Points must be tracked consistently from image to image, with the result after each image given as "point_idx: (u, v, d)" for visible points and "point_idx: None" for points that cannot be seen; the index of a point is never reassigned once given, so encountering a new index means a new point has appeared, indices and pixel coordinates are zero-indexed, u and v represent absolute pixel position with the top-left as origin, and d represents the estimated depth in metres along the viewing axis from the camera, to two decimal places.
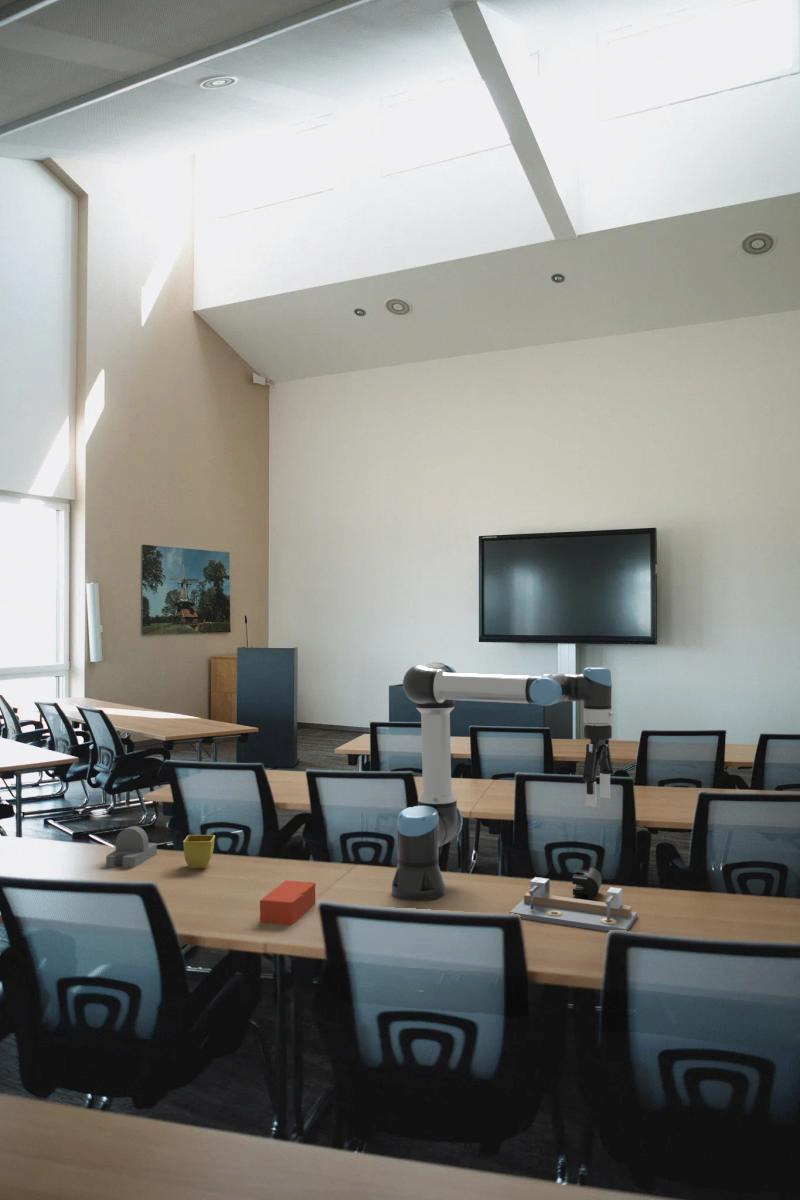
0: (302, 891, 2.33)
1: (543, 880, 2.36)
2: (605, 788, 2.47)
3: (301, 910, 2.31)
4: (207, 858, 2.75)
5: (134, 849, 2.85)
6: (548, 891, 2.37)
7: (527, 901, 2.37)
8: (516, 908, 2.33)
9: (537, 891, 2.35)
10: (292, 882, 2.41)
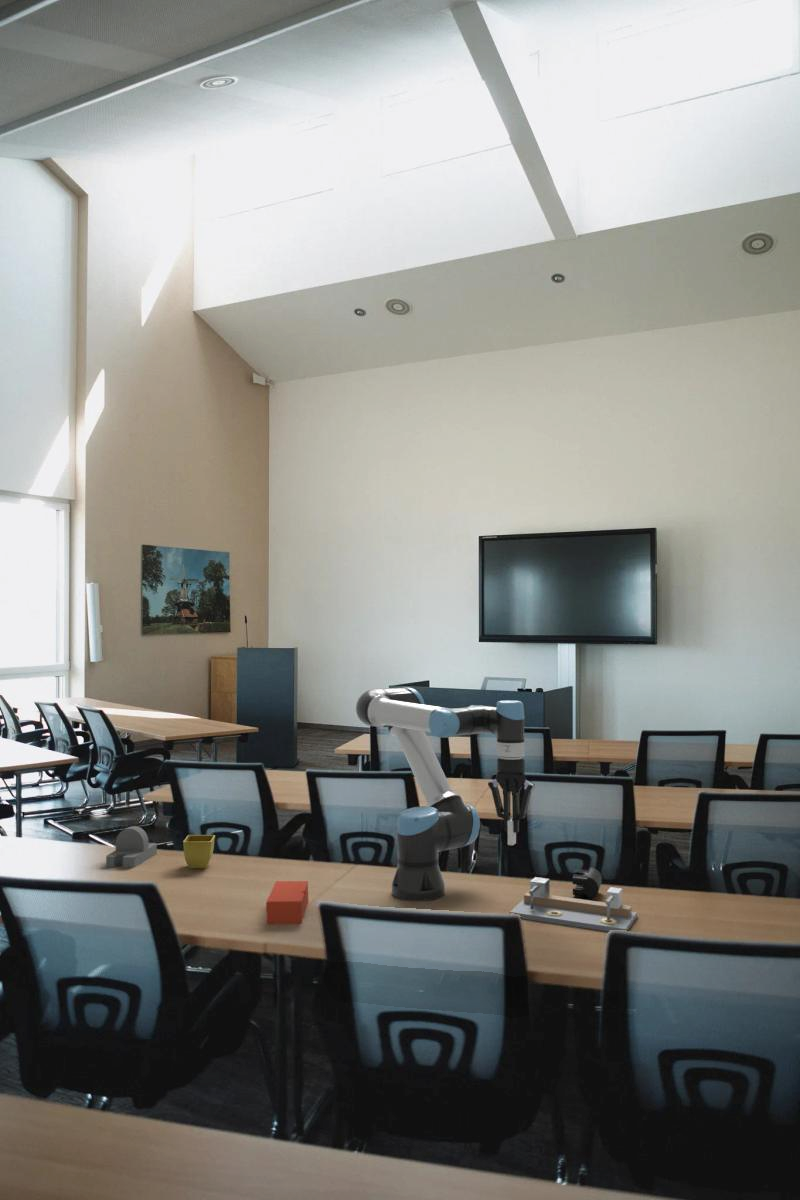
0: (302, 890, 2.34)
1: (543, 880, 2.36)
2: None
3: (304, 908, 2.32)
4: (207, 858, 2.75)
5: (134, 849, 2.85)
6: (548, 891, 2.37)
7: (527, 901, 2.37)
8: (516, 908, 2.33)
9: (537, 891, 2.35)
10: (285, 882, 2.41)
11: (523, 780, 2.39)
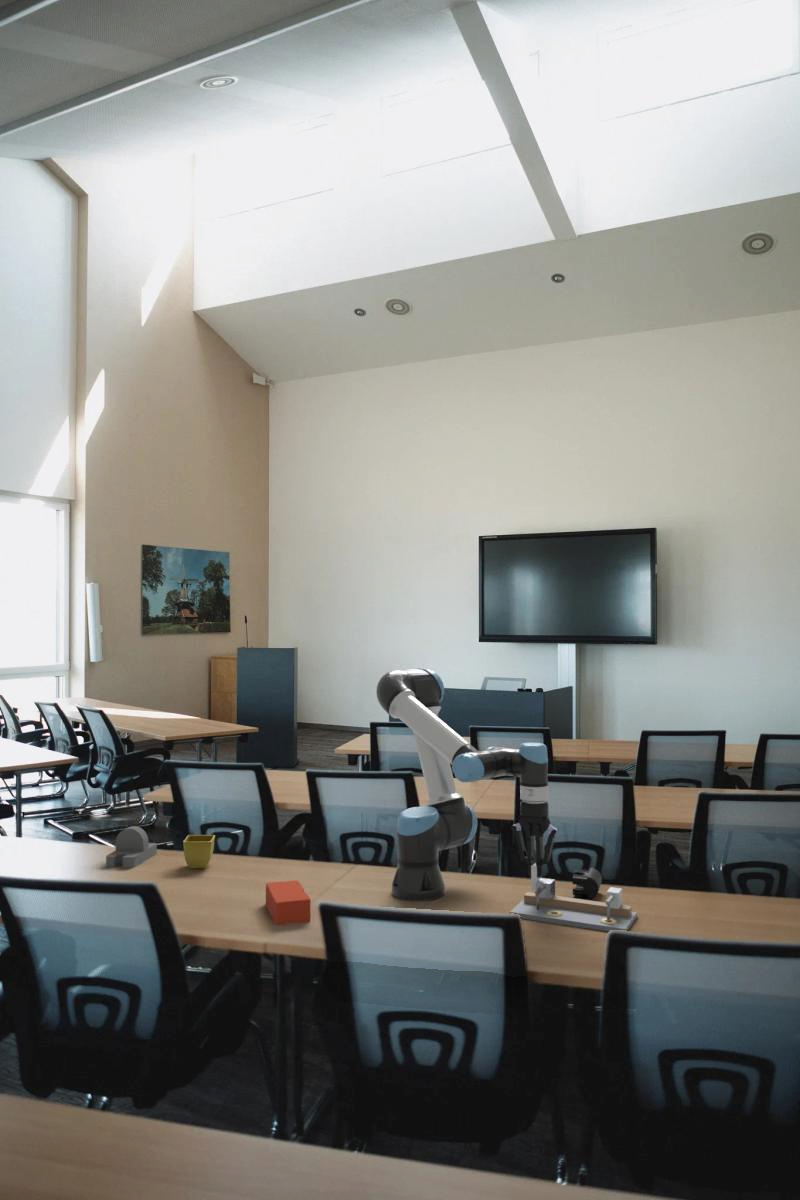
0: (301, 889, 2.35)
1: (549, 881, 2.36)
2: None
3: None
4: (207, 858, 2.75)
5: (134, 849, 2.85)
6: (554, 892, 2.37)
7: (527, 901, 2.37)
8: (516, 908, 2.33)
9: (543, 892, 2.34)
10: (277, 883, 2.40)
11: (547, 824, 2.35)
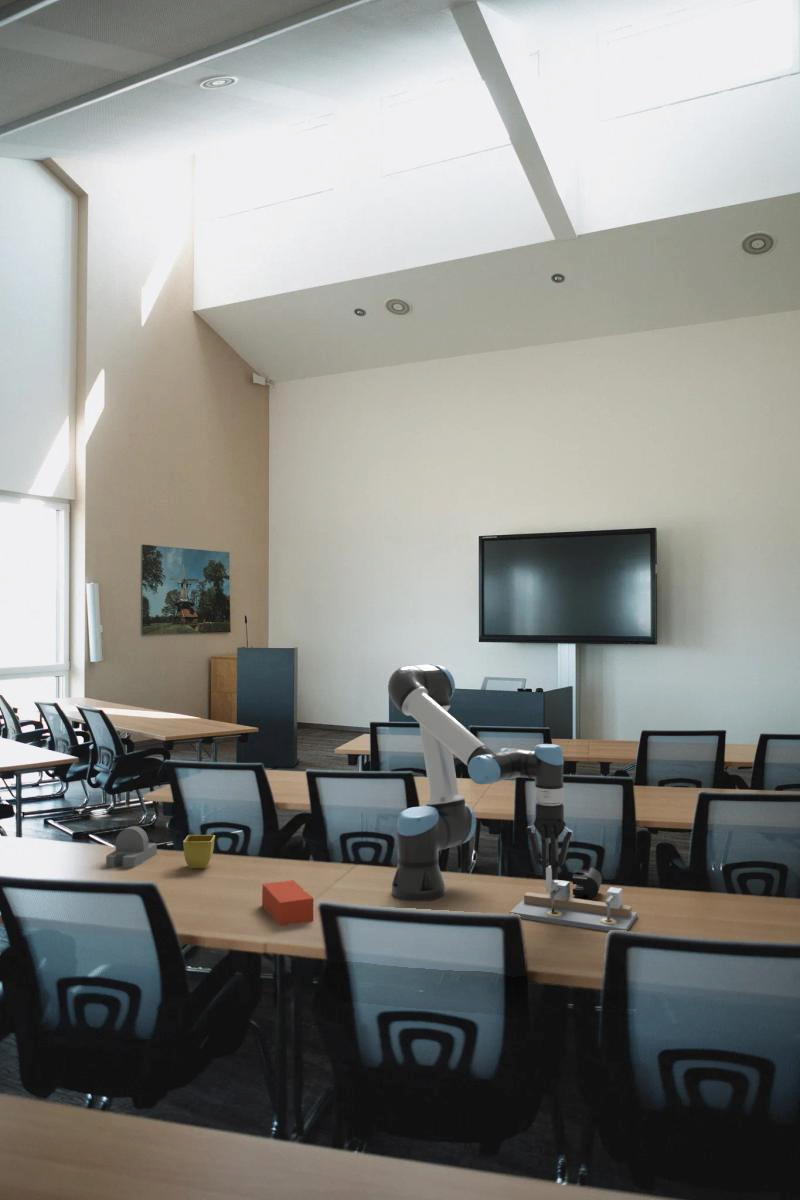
0: (300, 888, 2.36)
1: (564, 883, 2.34)
2: None
3: None
4: (207, 858, 2.75)
5: (134, 849, 2.85)
6: (568, 894, 2.35)
7: (527, 901, 2.37)
8: (516, 908, 2.33)
9: (558, 894, 2.33)
10: (274, 884, 2.40)
11: (562, 827, 2.34)
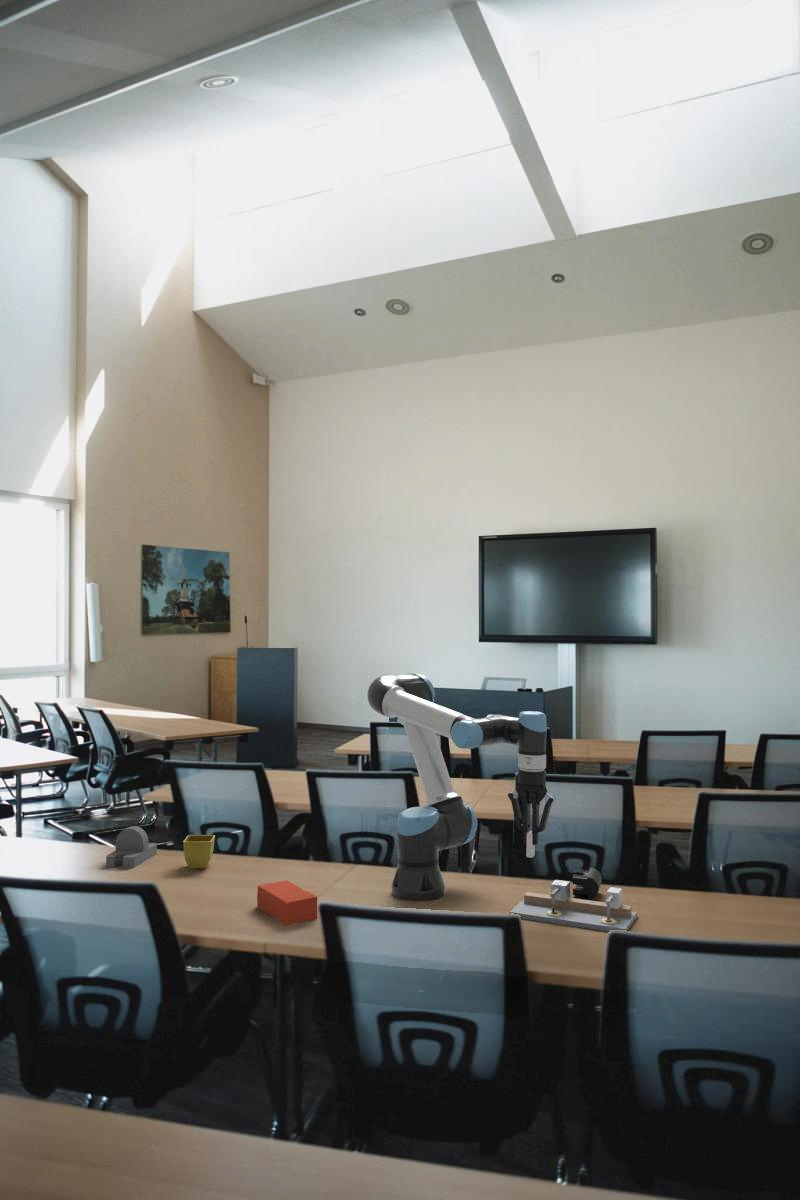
0: (299, 888, 2.36)
1: (564, 883, 2.34)
2: None
3: None
4: (207, 858, 2.75)
5: (134, 849, 2.85)
6: (569, 894, 2.35)
7: (527, 901, 2.37)
8: (516, 908, 2.33)
9: (558, 894, 2.33)
10: (269, 885, 2.39)
11: (544, 793, 2.36)
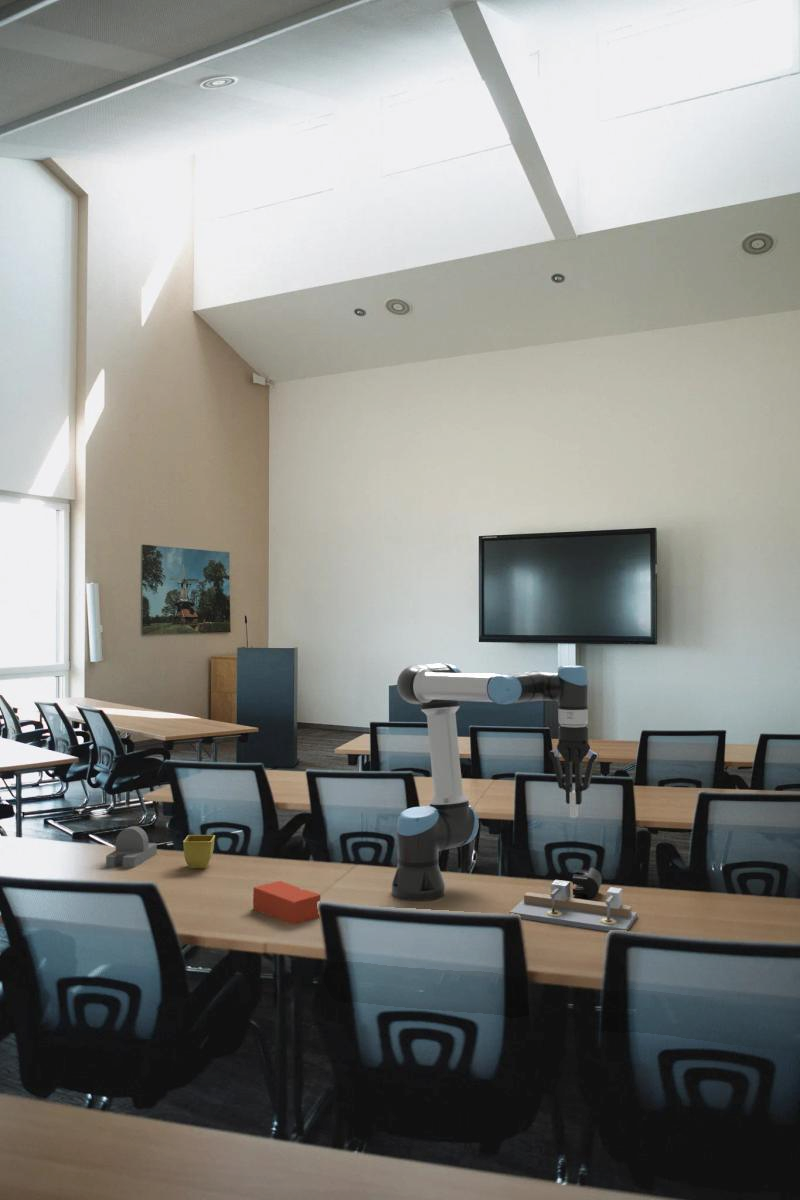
0: (297, 887, 2.37)
1: (564, 883, 2.34)
2: None
3: None
4: (207, 858, 2.75)
5: (134, 849, 2.85)
6: (569, 894, 2.35)
7: (527, 901, 2.37)
8: (516, 908, 2.33)
9: (558, 894, 2.33)
10: (265, 886, 2.38)
11: (587, 749, 2.26)
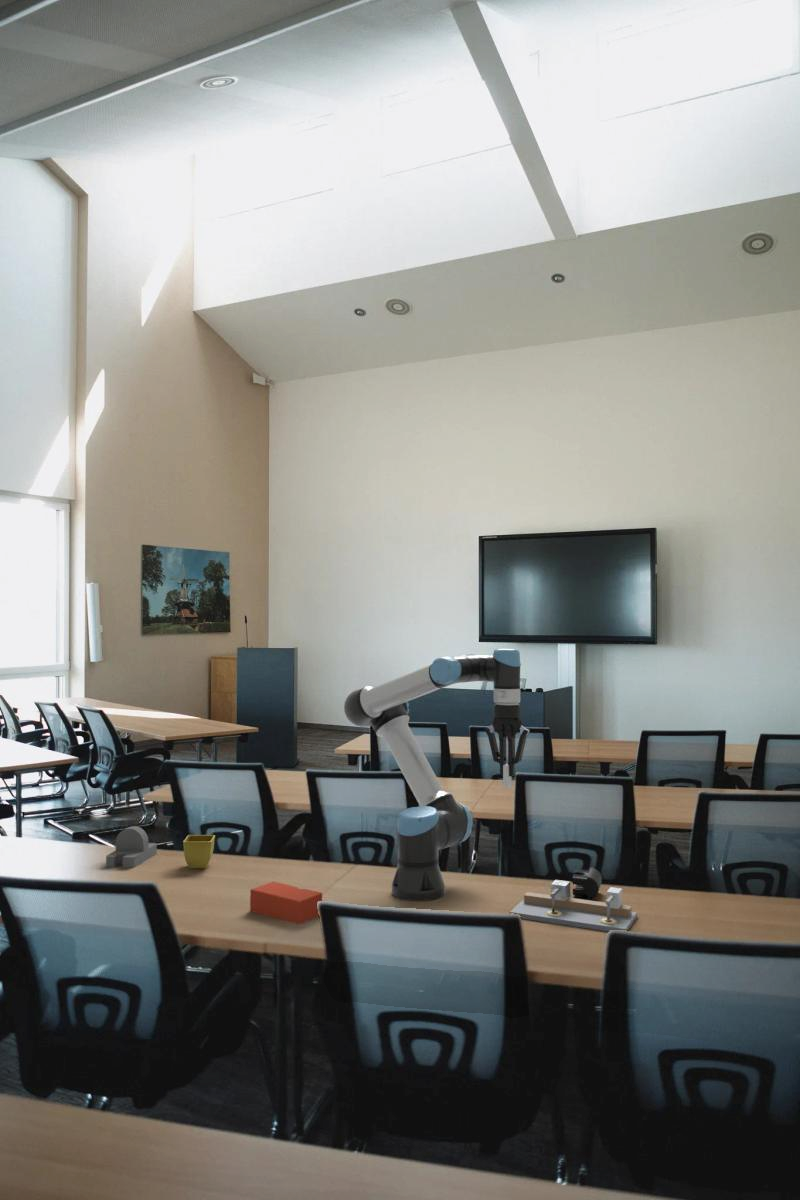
0: (295, 887, 2.37)
1: (564, 883, 2.34)
2: None
3: None
4: (207, 858, 2.75)
5: (134, 849, 2.85)
6: (569, 894, 2.35)
7: (527, 901, 2.37)
8: (516, 908, 2.33)
9: (558, 894, 2.33)
10: (262, 887, 2.37)
11: (519, 725, 2.45)
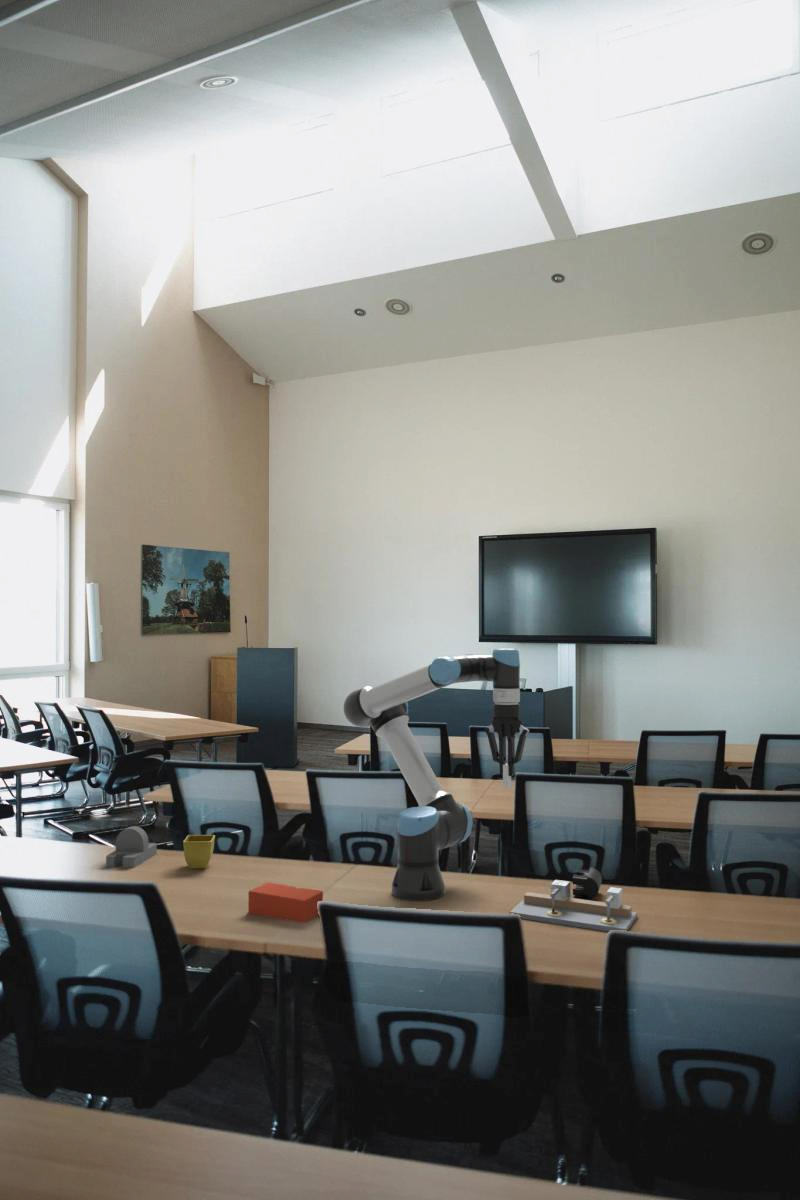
0: (293, 887, 2.37)
1: (564, 883, 2.34)
2: None
3: None
4: (207, 858, 2.75)
5: (134, 849, 2.84)
6: (569, 894, 2.35)
7: (527, 901, 2.37)
8: (516, 908, 2.33)
9: (558, 894, 2.33)
10: (259, 889, 2.36)
11: (518, 725, 2.45)
